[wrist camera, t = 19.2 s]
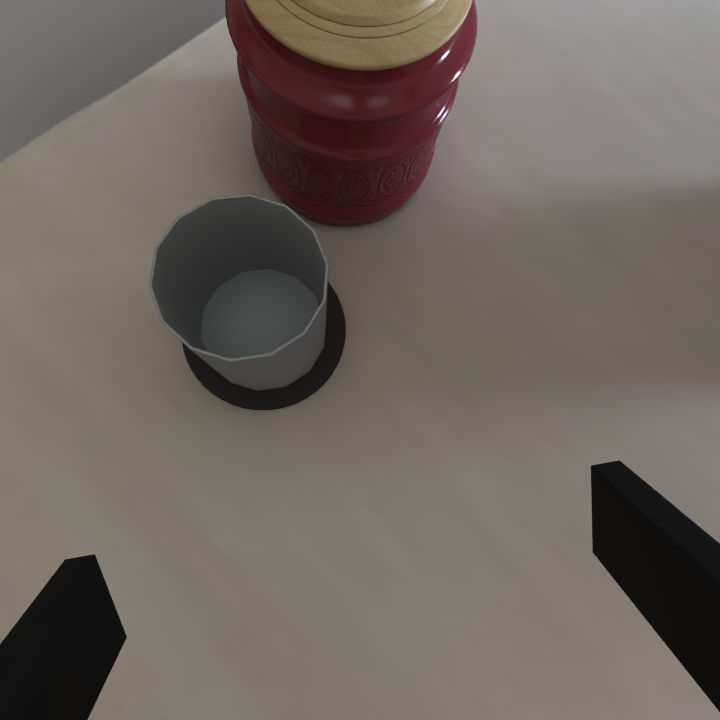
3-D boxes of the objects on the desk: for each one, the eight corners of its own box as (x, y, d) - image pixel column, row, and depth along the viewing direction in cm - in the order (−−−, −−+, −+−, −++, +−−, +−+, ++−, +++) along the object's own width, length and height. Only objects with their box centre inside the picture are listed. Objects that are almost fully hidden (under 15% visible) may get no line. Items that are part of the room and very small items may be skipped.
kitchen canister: (231, 103, 36) (150, -219, 19) (388, 58, 38) (445, -272, 21) (292, 255, 34) (264, 50, 17) (454, 199, 36) (578, -36, 19)
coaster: (367, 288, 34) (368, 286, 34) (310, 434, 32) (310, 434, 31) (223, 232, 34) (222, 230, 34) (155, 375, 32) (153, 374, 31)
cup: (243, 414, 31) (209, 395, 22) (177, 313, 32) (115, 251, 22) (349, 344, 33) (362, 296, 23) (283, 250, 34) (268, 165, 24)
